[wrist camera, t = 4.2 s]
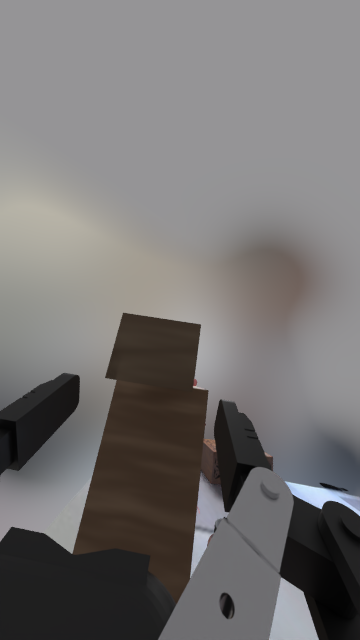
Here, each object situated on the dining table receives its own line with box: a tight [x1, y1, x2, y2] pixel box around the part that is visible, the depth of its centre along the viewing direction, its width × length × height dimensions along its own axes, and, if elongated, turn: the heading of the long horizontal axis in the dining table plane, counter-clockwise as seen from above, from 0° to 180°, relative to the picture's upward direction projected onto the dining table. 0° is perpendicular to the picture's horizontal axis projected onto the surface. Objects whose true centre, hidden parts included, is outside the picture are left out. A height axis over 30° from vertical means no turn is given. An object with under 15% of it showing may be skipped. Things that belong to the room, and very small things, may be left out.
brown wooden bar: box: [105, 313, 201, 392], centre depth 23 cm, size 26×5×4 cm, turn 1°
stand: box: [73, 380, 208, 604], centre depth 21 cm, size 14×10×32 cm
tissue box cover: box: [201, 439, 273, 484], centre depth 75 cm, size 26×14×10 cm, turn 105°
